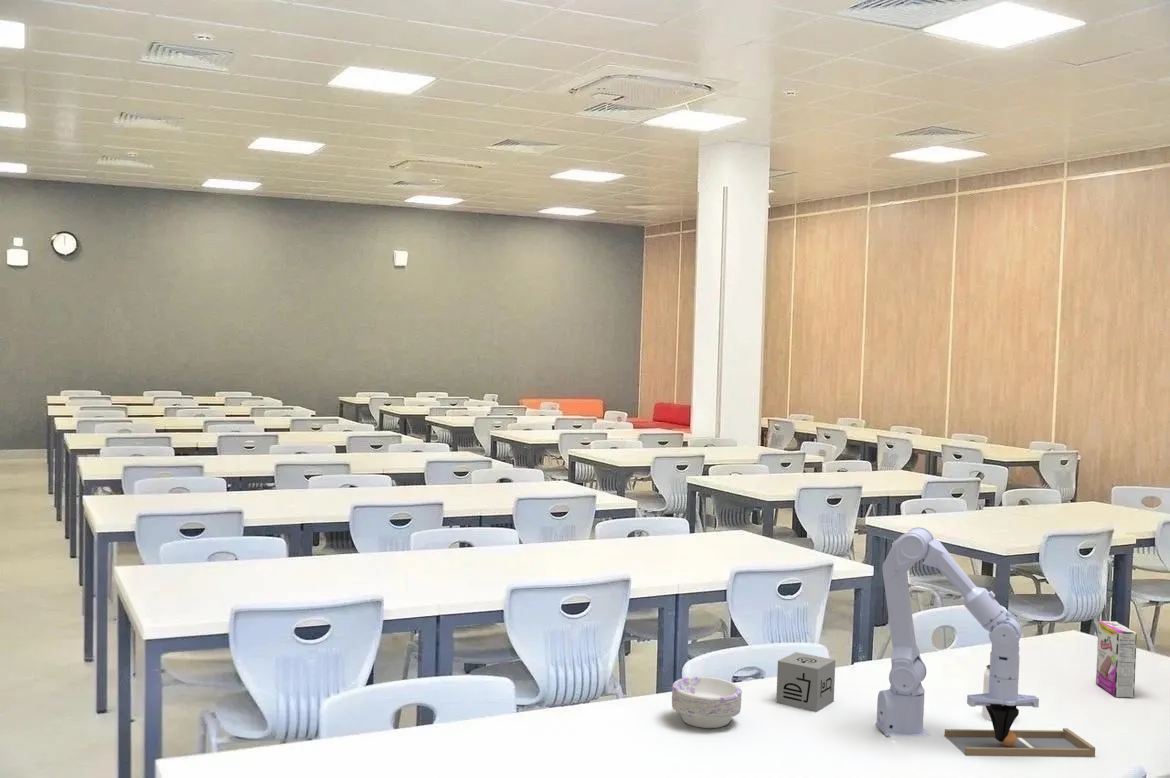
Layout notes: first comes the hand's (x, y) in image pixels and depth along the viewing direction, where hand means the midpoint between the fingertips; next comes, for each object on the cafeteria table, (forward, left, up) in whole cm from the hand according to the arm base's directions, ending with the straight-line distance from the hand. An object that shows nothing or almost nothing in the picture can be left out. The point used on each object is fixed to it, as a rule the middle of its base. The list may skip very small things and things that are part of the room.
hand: (1001, 740), depth 231 cm
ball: (0, 0, +1) cm, 1 cm away
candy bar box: (+47, +41, -2) cm, 63 cm away
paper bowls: (-60, +15, -2) cm, 62 cm away
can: (+7, +18, -2) cm, 20 cm away
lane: (+3, 0, -2) cm, 4 cm away
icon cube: (-34, +29, -2) cm, 45 cm away
